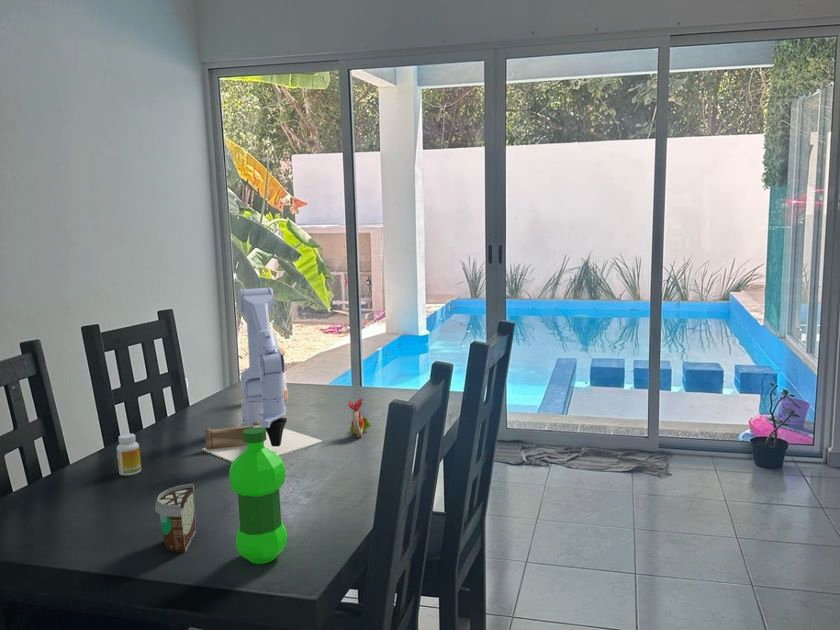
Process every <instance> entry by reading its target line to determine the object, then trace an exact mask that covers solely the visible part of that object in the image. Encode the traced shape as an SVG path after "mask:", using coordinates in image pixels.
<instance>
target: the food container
mask: <svg viewBox="0 0 840 630" xmlns="http://www.w3.org/2000/svg"><path fill="white" fill-rule="evenodd" d="M195 506H196V504H195V484H194V483H186V484H181V485H176V486H173V487H170V488H168V489H166V490H163V491H162V492H160V493H159V494H158V496H157V498H156V500H155V508H154V510H155V512H156V513H157V514H158V515H159V519H160V524H161V531H162V537H163V542H164V547H166V548H167V549H168V551H169V550H171V551H170V552H173V551H177V552H176V553H186V552H187V550H188V548H189V545H190V544H191V542H192V540H193V538H194V536H195V534H196V531H197V528H196V527H197V526H196V508H195ZM192 537H193V538H192ZM191 539H192V540H191ZM166 548H165V549H166ZM167 549H166V550H167Z"/></svg>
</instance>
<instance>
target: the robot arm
mask: <svg viewBox="0 0 840 630" xmlns="http://www.w3.org/2000/svg"><path fill="white" fill-rule="evenodd" d="M236 296H237V297H236V298H237V310H238V313H239V315H242V316H244V317H245V320H246V330H247V332H246V333H247V345H248V361H249V362H248V365H249V367H247V369H245V370H244V371H243V372H241V374H240V383H239V384H240V393H241V398H242V399H243V400H242V402H241V406H240V409H241V422H242V423H240V425H239V427H241V426H251V425H252V428H253V427H254V424H253V423H254V422H261V427H262V428H266V431H267V433H268V436H269V439H270V442H271V445H272V446H280V445H281V440H282V433H283V429H285V425H286V424H287V420H288V418H286V415H287V405H285V400H284V390H283V374H282V373H284V372H285V371H286V370H285V363H286V362H285V358H284V357H285V356H283V354H282V352H281V350H280V349H279V344H278V343H279V342H278V340H277V339H278V338H277V335H276V333H275V332H274V331H273V330H271V324H270V323H271V322H270V314H269V313H270V312H272V311H273V307H274V306H275V296H274V291H273V289H272V288H271V287H270V286H268V287H258V288H239V289H238V290H237V295H236Z"/></svg>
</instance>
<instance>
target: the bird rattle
mask: <svg viewBox="0 0 840 630" xmlns="http://www.w3.org/2000/svg"><path fill="white" fill-rule="evenodd" d="M362 401H363V398H359V399H358V400H356V401H355V402H354V403H353V402H351V401H348V405H347V406H348V407H349V408H350V409H351V410H352V420H351V426H350V427H349V430H350V431H349V432H350V433H352V435H354V433H355V434H356V437H357V438H358V439H359V438H360V437H361V438H362V436H363V433H366V432H367V429H370V428H371V422H369V421H368V418H367V416H364V417H363V416H362V414H361V413H362V412H361V410H360V408H361V406H362V405H363V402H362ZM361 438H360V439H361Z"/></svg>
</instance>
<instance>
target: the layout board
mask: <svg viewBox="0 0 840 630" xmlns="http://www.w3.org/2000/svg"><path fill="white" fill-rule="evenodd" d="M266 439H267V440H265V441H264V447H266V448H267V449H269V450H271V451H272V452H274V453H275V454H276V455H278V456H279V457H282V456H284V455H287V454H290V453H294V452H298V451H300V450H304V449H306V448H309V447H313V446H315V445H319V444H322V443H324V440H321V439H318V438H316V437H312V436H309V435H307V434H303V433H300V432H297V431H294V430H290V429H287V428H284V429H283V433H282V440H281V445H280V446H272V445H271V442H270V439H269V436H268V433H267V431H266ZM201 449H202V451H203V450H204V451H203V452H205V451H206V452H205V453H209V454H210V453H211V455H213V456H215V457H218V458H220V459H222V458H223V460H225V461H227V460H228V461H227V462H231V463H232V462H233V461H234V460H235V459H236V458H237V457H238V456H239V455H240V454H241V453H242V452H243V451H245V450H246V449H247V445H241V446H232V447H223V448H215V449H210V450H207V449H206V447H204V448H201Z"/></svg>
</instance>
